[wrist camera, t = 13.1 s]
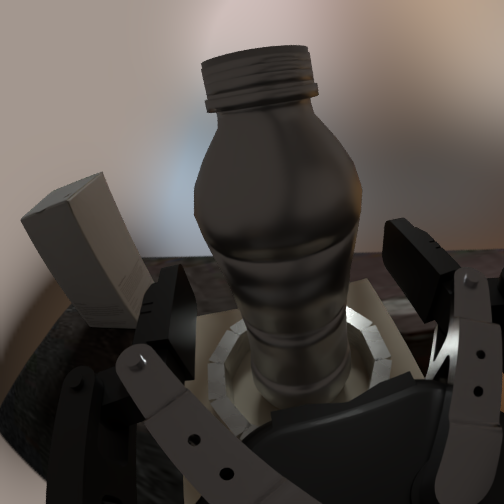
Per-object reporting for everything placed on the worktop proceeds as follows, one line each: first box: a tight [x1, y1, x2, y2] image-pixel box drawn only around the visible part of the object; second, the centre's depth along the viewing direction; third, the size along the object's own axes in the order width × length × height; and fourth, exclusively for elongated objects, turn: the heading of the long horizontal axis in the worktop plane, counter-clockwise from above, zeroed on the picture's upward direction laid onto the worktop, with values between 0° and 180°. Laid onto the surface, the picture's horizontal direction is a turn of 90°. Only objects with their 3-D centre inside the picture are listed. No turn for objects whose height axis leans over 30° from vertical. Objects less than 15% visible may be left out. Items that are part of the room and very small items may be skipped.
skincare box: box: [21, 172, 154, 329], centre depth 26 cm, size 8×7×16 cm
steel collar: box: [208, 307, 392, 441], centre depth 18 cm, size 12×12×2 cm
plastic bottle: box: [194, 45, 362, 410], centre depth 13 cm, size 6×7×20 cm
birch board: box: [183, 279, 424, 504], centre depth 19 cm, size 18×18×1 cm
